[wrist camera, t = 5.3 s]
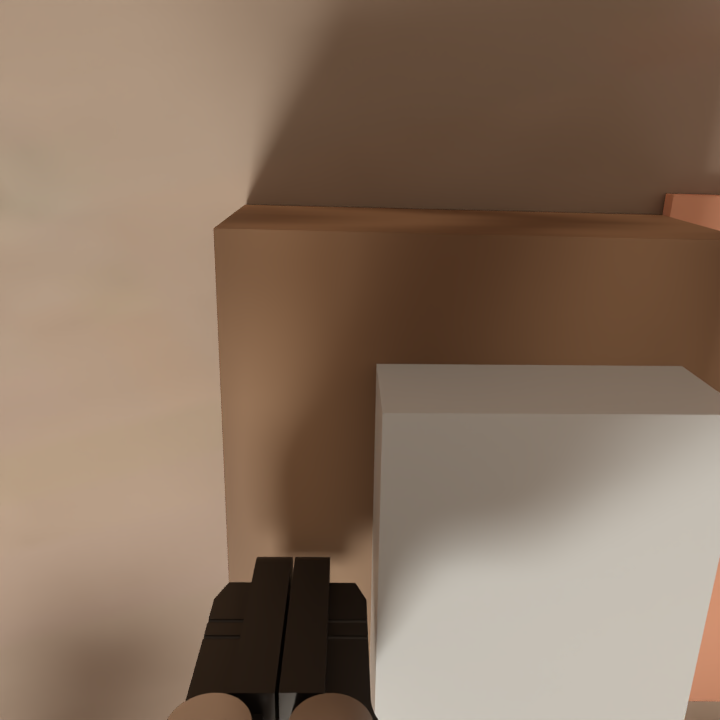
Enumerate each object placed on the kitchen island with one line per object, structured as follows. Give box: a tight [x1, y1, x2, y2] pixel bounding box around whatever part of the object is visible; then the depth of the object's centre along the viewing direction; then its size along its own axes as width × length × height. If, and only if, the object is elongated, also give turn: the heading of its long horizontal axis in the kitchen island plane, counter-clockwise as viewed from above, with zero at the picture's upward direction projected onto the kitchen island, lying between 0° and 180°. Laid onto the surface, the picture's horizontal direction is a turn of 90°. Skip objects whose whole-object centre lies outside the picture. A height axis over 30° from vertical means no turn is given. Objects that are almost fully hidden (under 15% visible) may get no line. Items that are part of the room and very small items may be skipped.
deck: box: [214, 205, 720, 668], centre depth 17 cm, size 10×14×4 cm
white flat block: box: [370, 364, 720, 720], centre depth 14 cm, size 6×9×2 cm, turn 179°
